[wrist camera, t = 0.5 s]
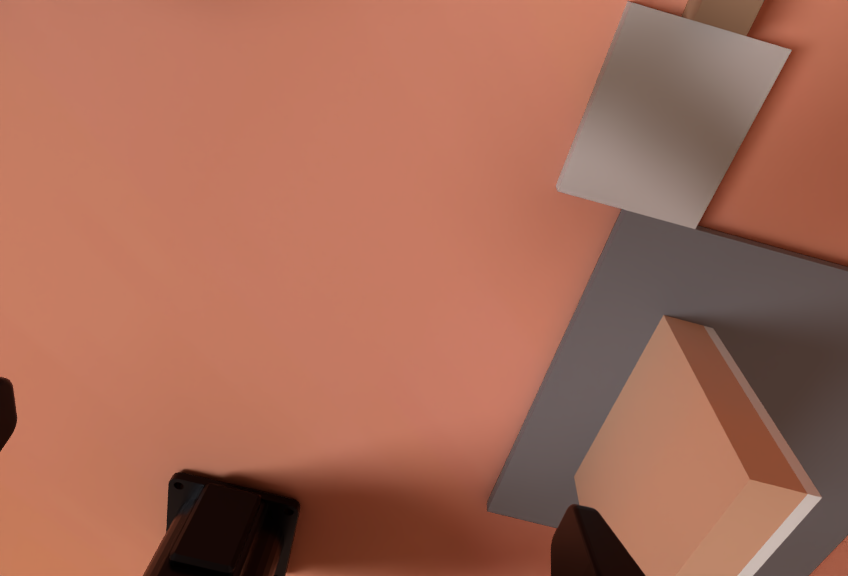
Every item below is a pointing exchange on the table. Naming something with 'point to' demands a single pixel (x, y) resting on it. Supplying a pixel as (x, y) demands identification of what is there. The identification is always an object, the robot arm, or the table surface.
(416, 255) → the table surface
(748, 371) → the mat
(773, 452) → the tile
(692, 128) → the turner
